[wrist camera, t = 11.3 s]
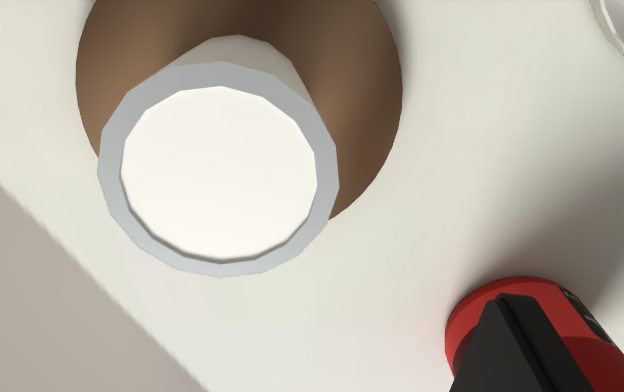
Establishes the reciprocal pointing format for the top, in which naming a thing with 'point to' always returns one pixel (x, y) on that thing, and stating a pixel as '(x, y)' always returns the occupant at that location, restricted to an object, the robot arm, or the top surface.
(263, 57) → the white cup
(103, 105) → the brown round coaster
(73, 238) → the top surface
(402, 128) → the top surface
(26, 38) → the top surface
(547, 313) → the canned food
